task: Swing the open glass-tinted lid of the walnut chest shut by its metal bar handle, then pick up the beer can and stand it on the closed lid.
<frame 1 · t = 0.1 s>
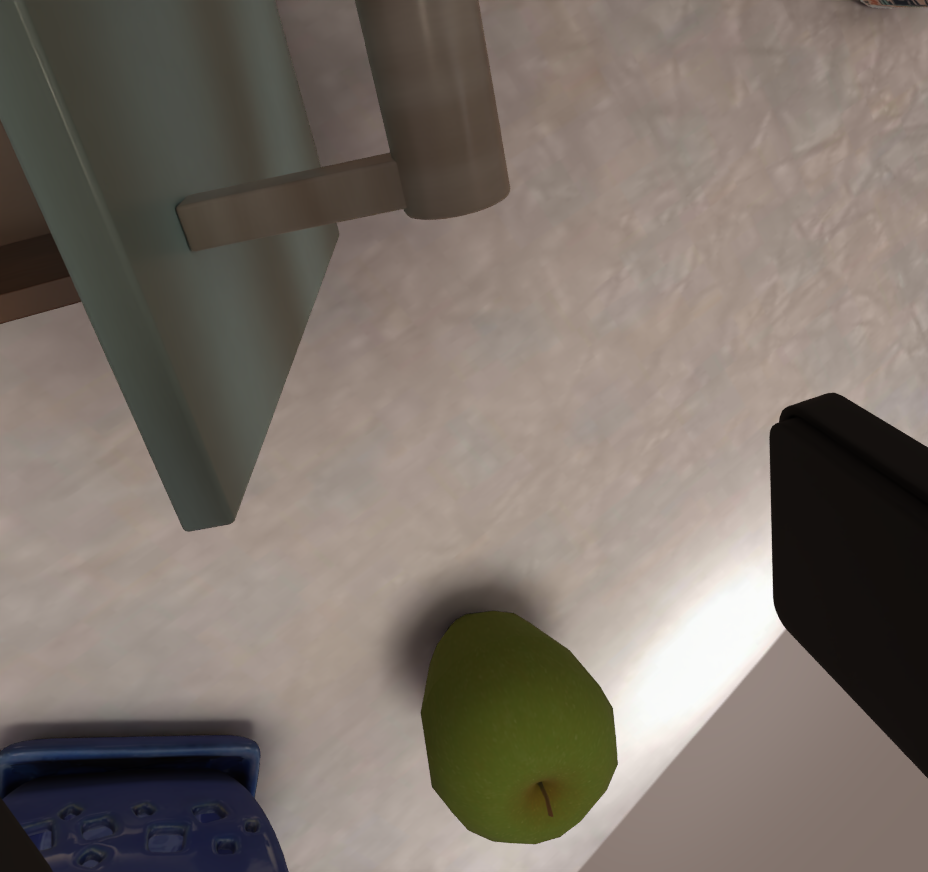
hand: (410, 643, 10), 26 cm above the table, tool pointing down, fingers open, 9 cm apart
flower pot: (126, 801, 43), on the table
apple: (471, 630, 44), on the table
chest: (39, 49, 28), on the table
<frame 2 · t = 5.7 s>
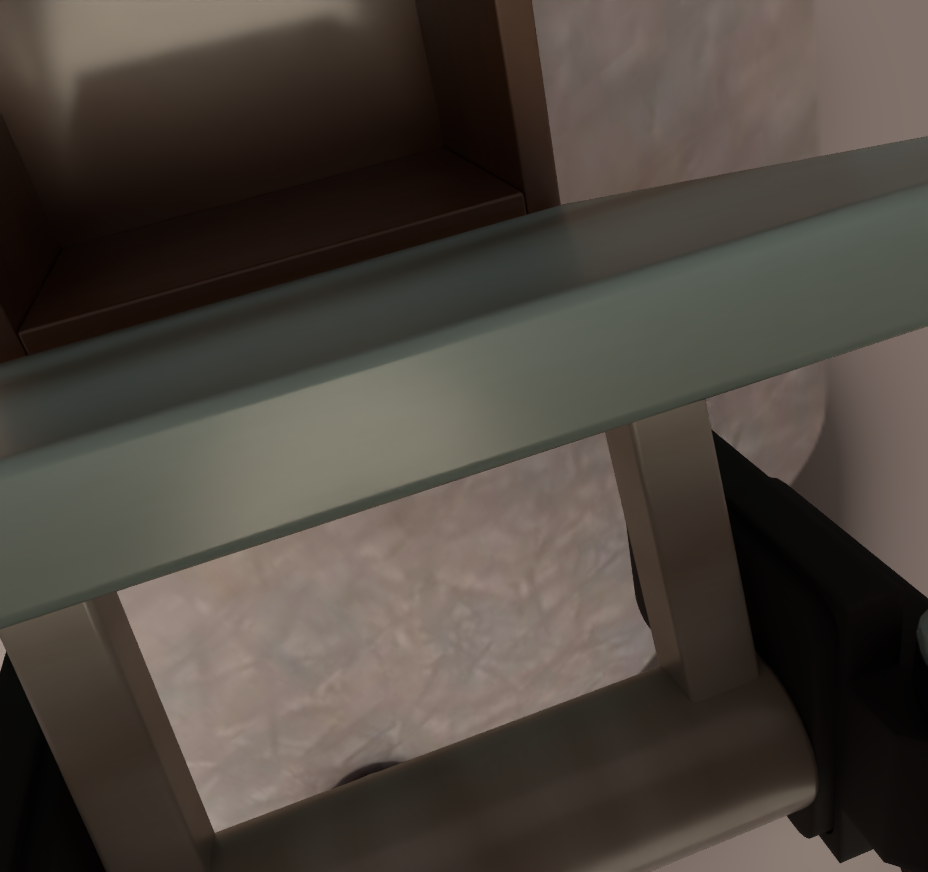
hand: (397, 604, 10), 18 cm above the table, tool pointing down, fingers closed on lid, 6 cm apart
lid: (360, 495, 12), point 16 cm above the table, hinge at 75.0°, touching gripper
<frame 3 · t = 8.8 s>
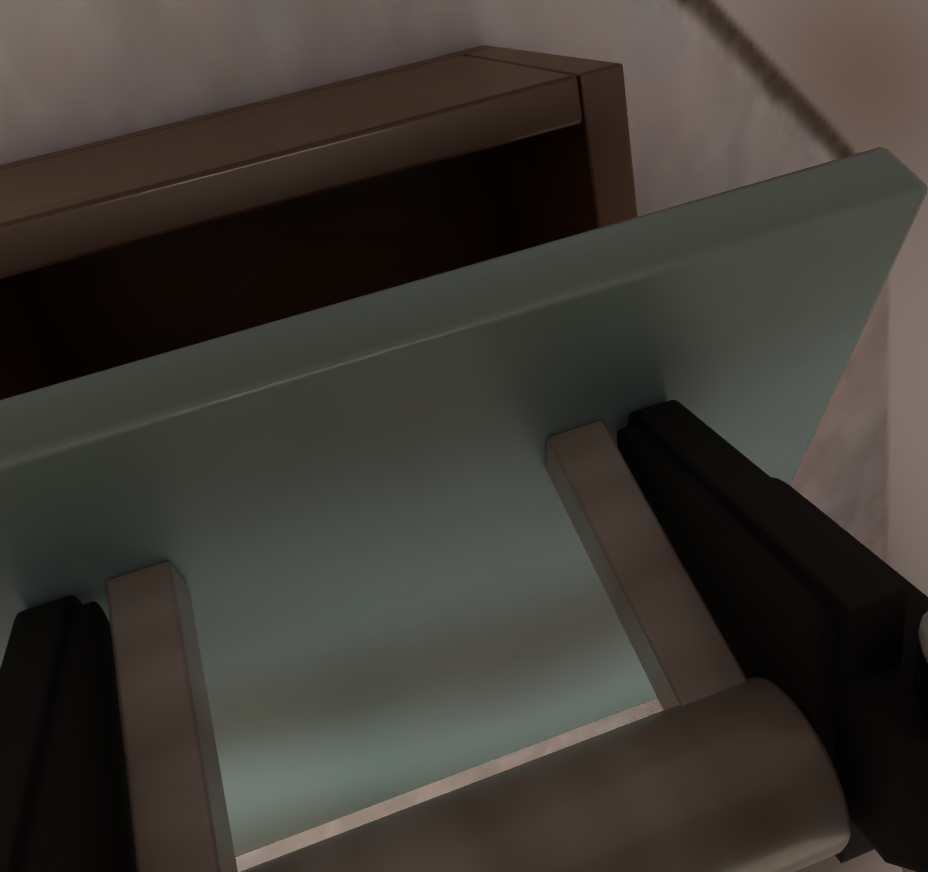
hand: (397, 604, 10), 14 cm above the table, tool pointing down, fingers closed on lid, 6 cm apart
chest: (315, 366, 23), on the table
lid: (453, 787, 12), point 14 cm above the table, hinge at 25.6°, touching gripper
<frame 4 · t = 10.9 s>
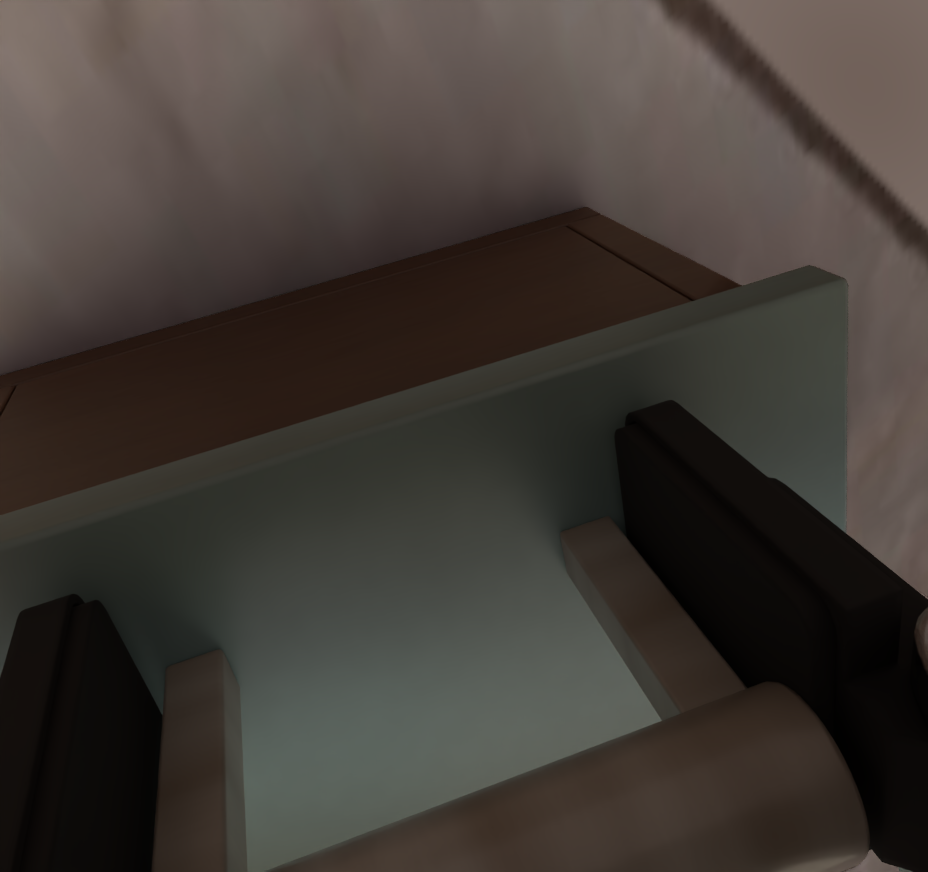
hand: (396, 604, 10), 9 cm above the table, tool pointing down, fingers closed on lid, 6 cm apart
chest: (383, 553, 21), on the table
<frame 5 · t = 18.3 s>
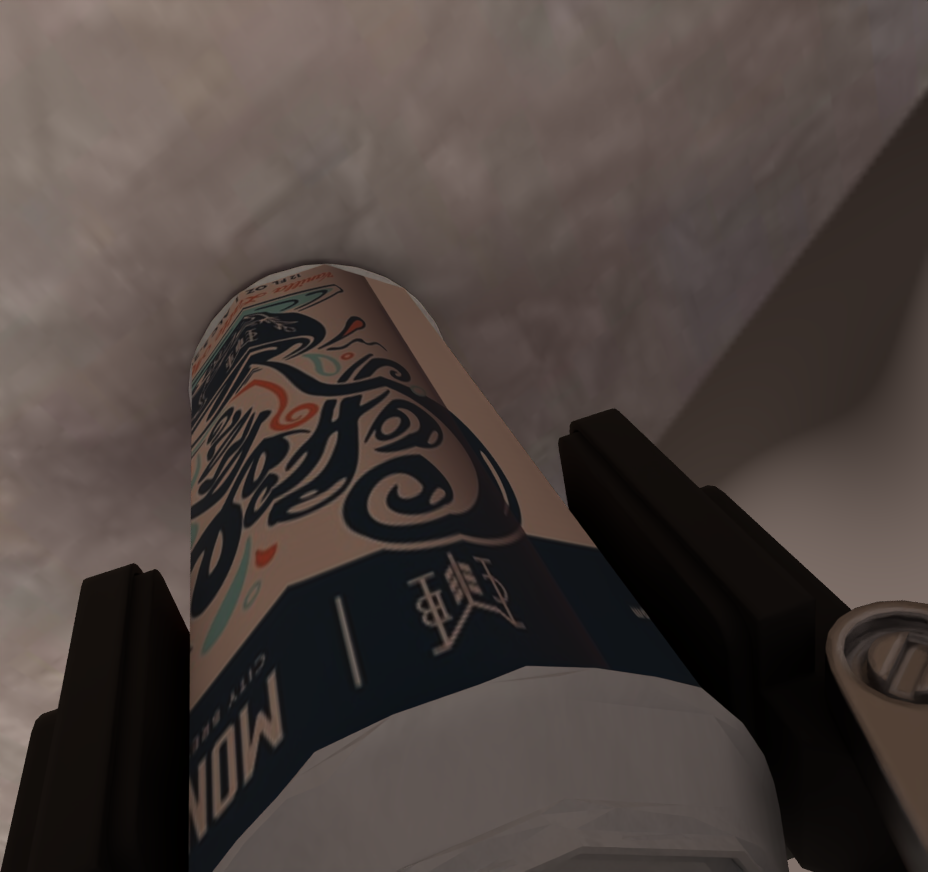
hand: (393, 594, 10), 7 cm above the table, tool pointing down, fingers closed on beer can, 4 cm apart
beer can: (320, 377, 16), on the table, touching gripper
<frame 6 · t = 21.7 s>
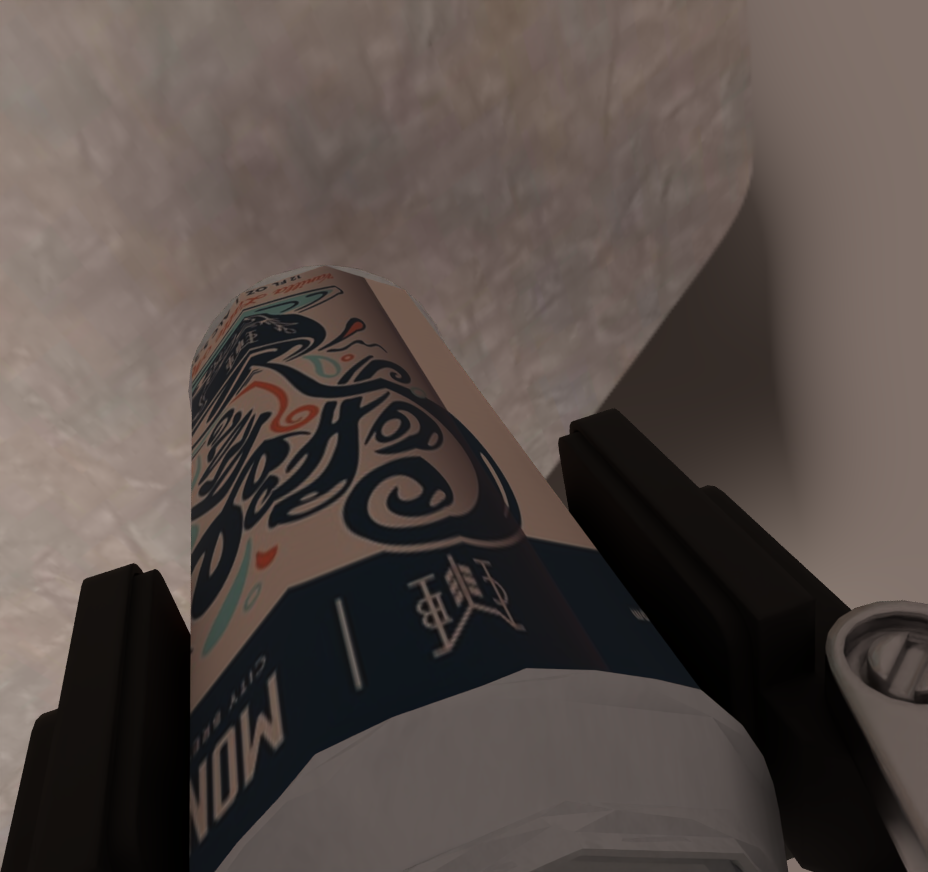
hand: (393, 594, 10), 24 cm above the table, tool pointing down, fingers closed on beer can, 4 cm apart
beer can: (320, 378, 16), point 17 cm above the table, touching gripper
when the fingers open (15 cm above the table, at t = 25.4 s): beer can stays where it is, resting on lid.
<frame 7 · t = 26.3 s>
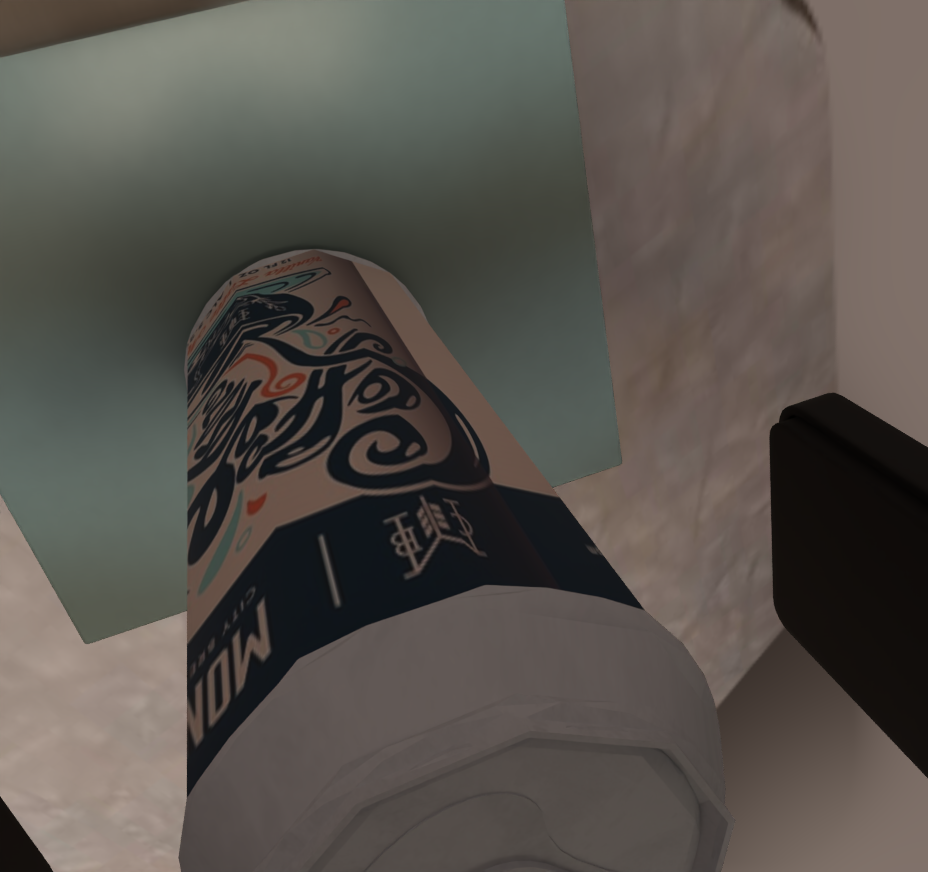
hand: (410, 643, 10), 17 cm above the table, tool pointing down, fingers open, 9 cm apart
beer can: (310, 359, 17), point 8 cm above the table, touching lid
lid: (279, 273, 14), point 11 cm above the table, hinge at -0.2°, touching beer can, chest
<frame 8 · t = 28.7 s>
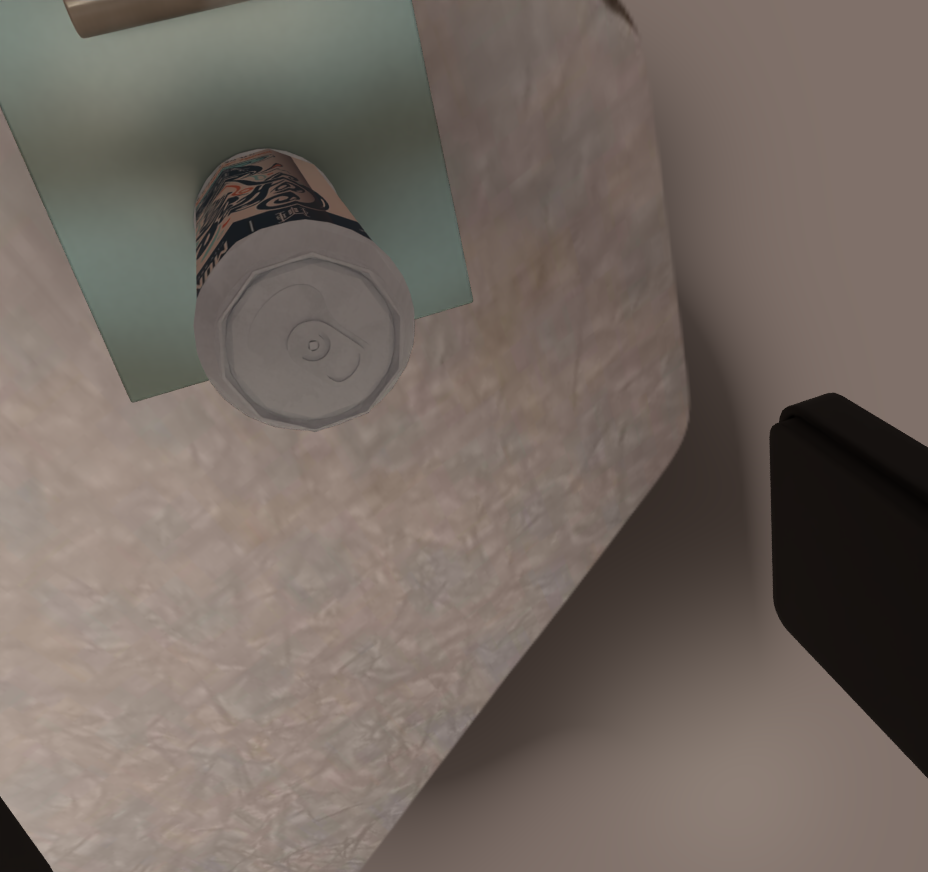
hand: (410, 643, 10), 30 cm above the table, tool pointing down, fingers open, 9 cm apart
beer can: (269, 220, 28), point 8 cm above the table, touching lid
lid: (246, 155, 25), point 11 cm above the table, hinge at -0.2°, touching beer can, chest
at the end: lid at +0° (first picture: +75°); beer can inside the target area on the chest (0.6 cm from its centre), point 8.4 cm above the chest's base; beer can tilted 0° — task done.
